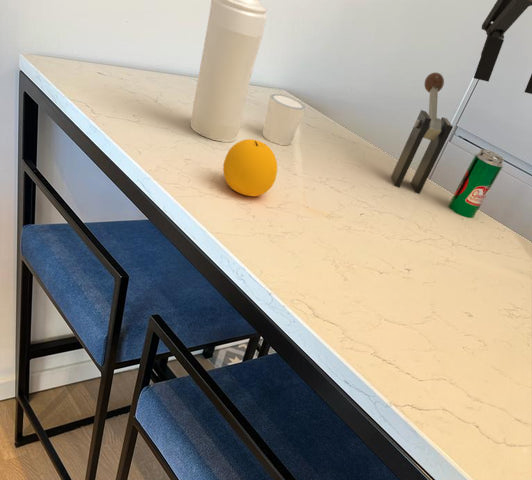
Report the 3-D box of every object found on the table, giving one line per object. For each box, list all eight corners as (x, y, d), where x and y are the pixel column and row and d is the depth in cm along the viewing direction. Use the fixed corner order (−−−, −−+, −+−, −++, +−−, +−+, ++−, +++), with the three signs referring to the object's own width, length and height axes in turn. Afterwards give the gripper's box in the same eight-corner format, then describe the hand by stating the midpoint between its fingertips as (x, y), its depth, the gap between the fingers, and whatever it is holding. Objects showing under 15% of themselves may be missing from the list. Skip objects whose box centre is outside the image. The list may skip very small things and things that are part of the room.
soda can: (457, 224, 102) (492, 160, 94) (439, 209, 105) (472, 146, 97) (475, 224, 104) (512, 162, 97) (457, 210, 107) (491, 149, 100)
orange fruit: (277, 206, 85) (293, 158, 80) (227, 200, 81) (241, 150, 77) (259, 180, 90) (273, 134, 85) (212, 174, 86) (224, 125, 82)
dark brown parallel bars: (378, 175, 109) (410, 102, 101) (416, 187, 110) (451, 116, 102) (385, 197, 101) (421, 120, 93) (426, 209, 103) (465, 134, 94)
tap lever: (421, 80, 105) (430, 65, 102) (438, 86, 105) (447, 71, 102) (417, 138, 99) (427, 124, 96) (435, 144, 100) (445, 130, 97)
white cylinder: (270, 145, 104) (282, 106, 99) (252, 128, 108) (263, 91, 103) (300, 148, 107) (313, 111, 103) (282, 132, 111) (293, 95, 107)
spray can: (252, 151, 99) (299, -12, 83) (196, 145, 93) (235, -31, 78) (225, 123, 106) (264, -33, 90) (172, 116, 100) (203, -51, 85)
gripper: (493, -75, 91) (445, 70, 101) (614, -86, 71) (538, 96, 82) (530, -62, 93) (479, 78, 104) (656, -69, 74) (577, 105, 84)
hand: (505, 86), depth 93 cm, fingers open, 13 cm apart
